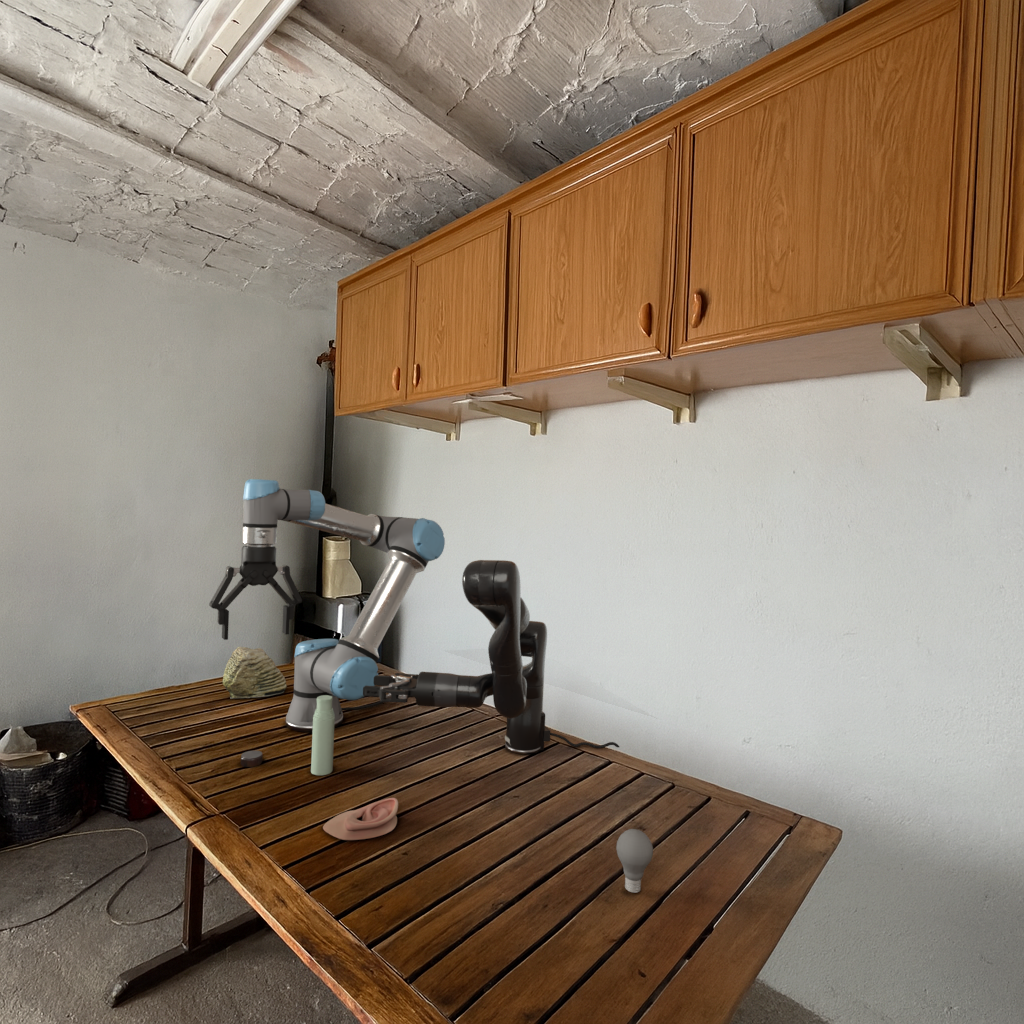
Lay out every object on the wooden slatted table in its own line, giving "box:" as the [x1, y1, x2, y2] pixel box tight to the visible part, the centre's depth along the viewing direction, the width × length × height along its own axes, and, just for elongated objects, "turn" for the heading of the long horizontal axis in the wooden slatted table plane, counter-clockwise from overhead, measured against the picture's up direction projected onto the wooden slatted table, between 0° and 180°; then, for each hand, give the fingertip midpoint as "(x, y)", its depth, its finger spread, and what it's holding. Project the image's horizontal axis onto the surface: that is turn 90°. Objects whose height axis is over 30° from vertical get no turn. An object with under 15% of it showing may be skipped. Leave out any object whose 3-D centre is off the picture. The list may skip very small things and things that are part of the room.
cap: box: [240, 750, 264, 768], centre depth 149 cm, size 5×5×2 cm
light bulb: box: [615, 828, 654, 894], centre depth 106 cm, size 6×6×10 cm
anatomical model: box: [322, 797, 399, 841], centre depth 122 cm, size 13×4×12 cm
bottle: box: [310, 695, 335, 776], centre depth 146 cm, size 5×5×17 cm
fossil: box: [222, 646, 288, 699], centre depth 198 cm, size 9×18×15 cm, turn 132°
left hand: (256, 636), depth 148 cm, fingers open, 13 cm apart
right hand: (368, 685), depth 145 cm, fingers open, 8 cm apart
